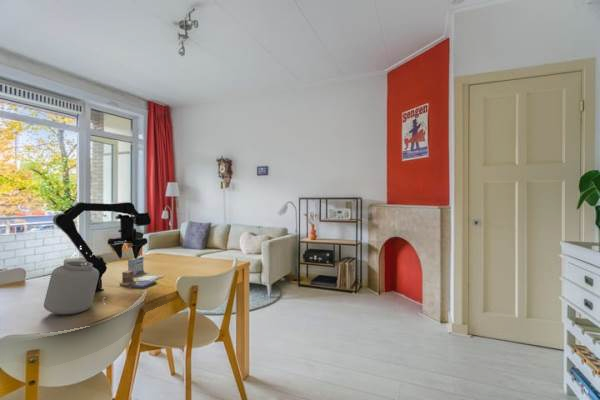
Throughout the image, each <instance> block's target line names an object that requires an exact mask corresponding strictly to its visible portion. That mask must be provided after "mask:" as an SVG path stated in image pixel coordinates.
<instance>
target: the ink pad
mask: <svg viewBox="0 0 600 400" xmlns="http://www.w3.org/2000/svg"><path fill="white" fill-rule="evenodd" d="M157 282H158V281H156V280H154V281H146V280H145V281H142V282H136V284H134V285H131V286H130V288H131V289H137V290H138V289H140V290H144V289H147V288H149V287H152V286H154V285H157Z"/></svg>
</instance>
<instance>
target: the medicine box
mask: <svg viewBox="0 0 600 400" xmlns="http://www.w3.org/2000/svg"><path fill="white" fill-rule="evenodd" d="M127 267H128V268H127V271H134V275H135V276H136V275H138V274H141V273H142V272H143V273H144V256H138V257H137V259H135V258H134V257H133V258H129V259H128V260H127Z"/></svg>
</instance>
